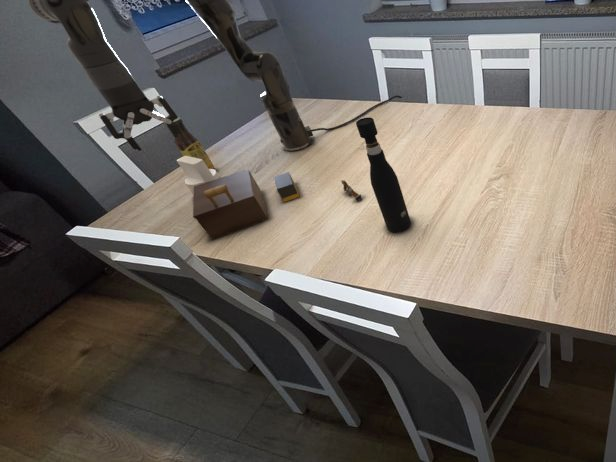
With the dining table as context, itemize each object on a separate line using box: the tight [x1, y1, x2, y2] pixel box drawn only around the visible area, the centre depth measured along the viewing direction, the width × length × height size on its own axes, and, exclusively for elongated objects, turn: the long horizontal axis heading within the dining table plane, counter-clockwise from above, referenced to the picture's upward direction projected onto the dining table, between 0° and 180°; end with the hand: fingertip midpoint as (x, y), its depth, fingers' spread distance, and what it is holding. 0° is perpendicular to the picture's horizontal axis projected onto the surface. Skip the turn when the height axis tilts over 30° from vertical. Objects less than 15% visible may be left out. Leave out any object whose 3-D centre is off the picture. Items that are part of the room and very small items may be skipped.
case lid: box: [192, 168, 255, 220], centre depth 111 cm, size 18×15×5 cm
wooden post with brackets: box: [340, 179, 363, 202], centre depth 119 cm, size 2×8×4 cm, turn 49°
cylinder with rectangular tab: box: [176, 155, 221, 196], centre depth 125 cm, size 9×9×12 cm
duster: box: [273, 171, 300, 203], centre depth 123 cm, size 5×8×5 cm, turn 30°
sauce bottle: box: [173, 117, 216, 170], centre depth 133 cm, size 7×6×20 cm
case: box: [195, 170, 269, 240], centre depth 116 cm, size 17×15×8 cm
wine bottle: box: [355, 116, 412, 234], centre depth 97 cm, size 6×6×30 cm
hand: (158, 143), depth 106 cm, fingers open, 8 cm apart
